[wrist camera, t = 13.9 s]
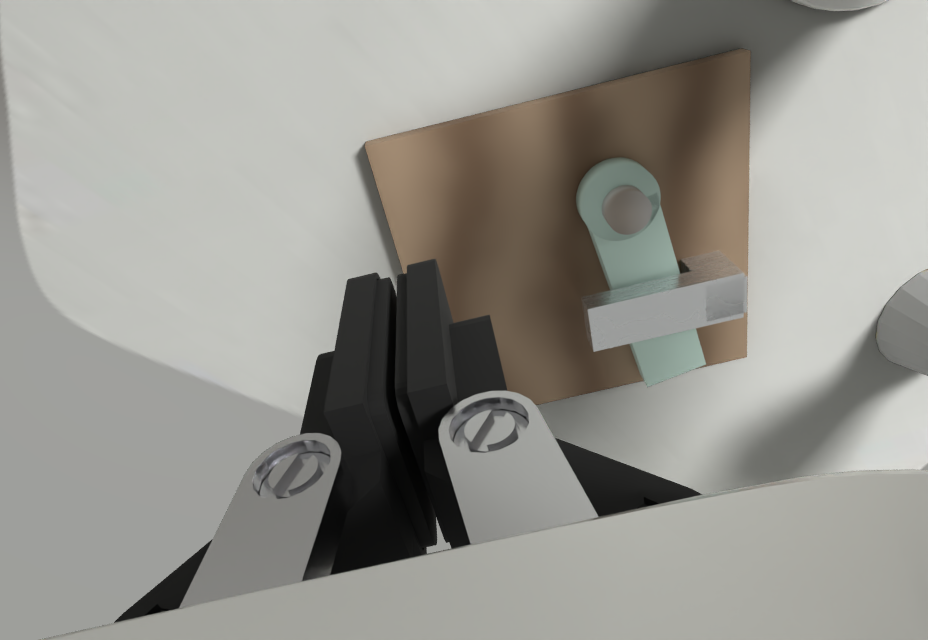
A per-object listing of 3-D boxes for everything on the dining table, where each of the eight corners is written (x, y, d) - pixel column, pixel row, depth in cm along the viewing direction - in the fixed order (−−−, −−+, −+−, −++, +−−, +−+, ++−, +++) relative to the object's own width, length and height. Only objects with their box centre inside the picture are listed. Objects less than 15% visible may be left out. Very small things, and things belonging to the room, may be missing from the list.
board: (742, 48, 34) (783, 59, 30) (740, 349, 44) (770, 385, 40) (365, 141, 35) (361, 163, 31) (448, 415, 45) (452, 457, 41)
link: (565, 177, 35) (571, 185, 34) (639, 144, 35) (649, 151, 33) (637, 375, 43) (644, 388, 41) (699, 350, 42) (709, 363, 41)
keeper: (719, 245, 39) (747, 272, 35) (719, 287, 40) (746, 316, 37) (572, 280, 39) (587, 309, 36) (578, 320, 40) (593, 351, 37)
